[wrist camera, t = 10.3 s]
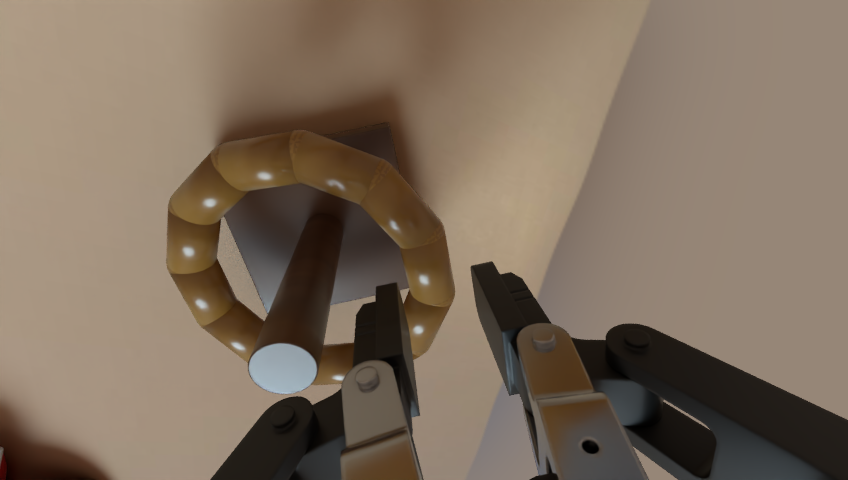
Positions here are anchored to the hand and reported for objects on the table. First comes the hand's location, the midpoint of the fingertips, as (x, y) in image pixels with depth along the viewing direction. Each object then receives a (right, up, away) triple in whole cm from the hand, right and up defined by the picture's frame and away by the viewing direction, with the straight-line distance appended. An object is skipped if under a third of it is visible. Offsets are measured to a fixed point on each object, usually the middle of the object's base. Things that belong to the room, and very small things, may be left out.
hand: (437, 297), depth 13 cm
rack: (-6, +3, +9) cm, 11 cm away
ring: (-5, 0, +3) cm, 6 cm away
